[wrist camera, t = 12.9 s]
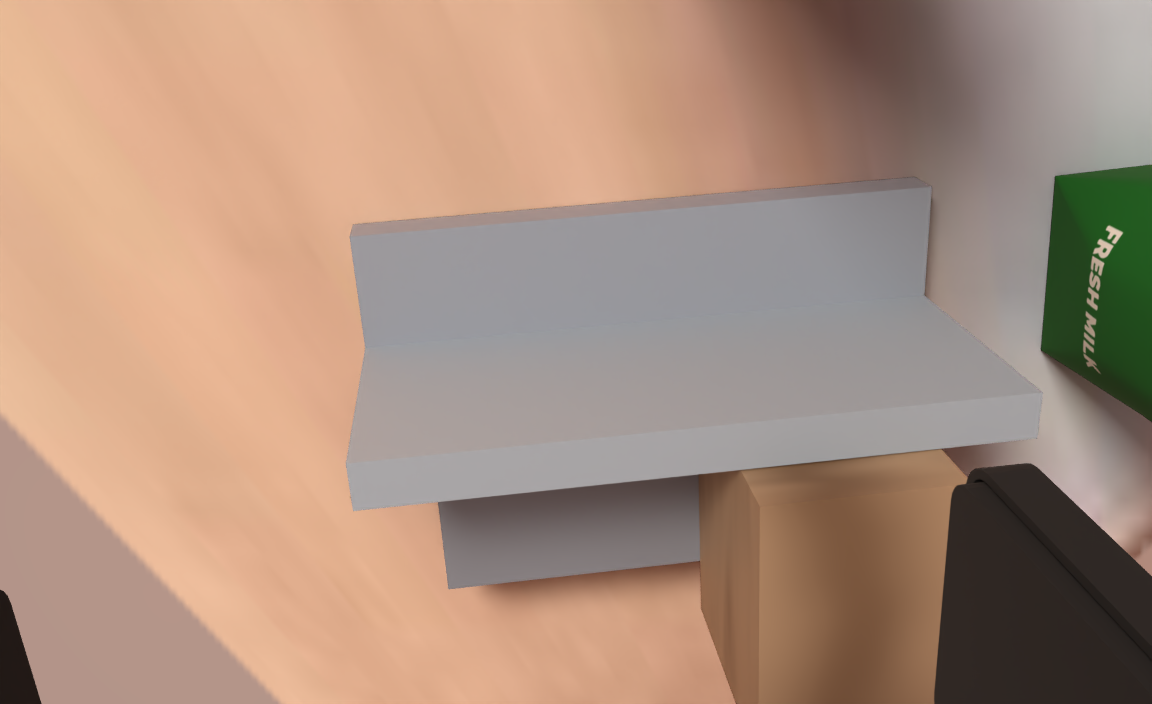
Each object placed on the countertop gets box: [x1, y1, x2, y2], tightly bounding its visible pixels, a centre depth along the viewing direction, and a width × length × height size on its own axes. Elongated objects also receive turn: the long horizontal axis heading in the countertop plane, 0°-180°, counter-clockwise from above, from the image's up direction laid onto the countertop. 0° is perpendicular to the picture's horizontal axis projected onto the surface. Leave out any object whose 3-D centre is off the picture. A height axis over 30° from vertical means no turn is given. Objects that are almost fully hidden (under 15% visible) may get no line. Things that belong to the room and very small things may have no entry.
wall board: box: [346, 177, 1043, 589], centre depth 37 cm, size 20×12×10 cm, turn 93°
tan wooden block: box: [699, 449, 968, 704], centre depth 36 cm, size 6×10×8 cm, turn 3°
